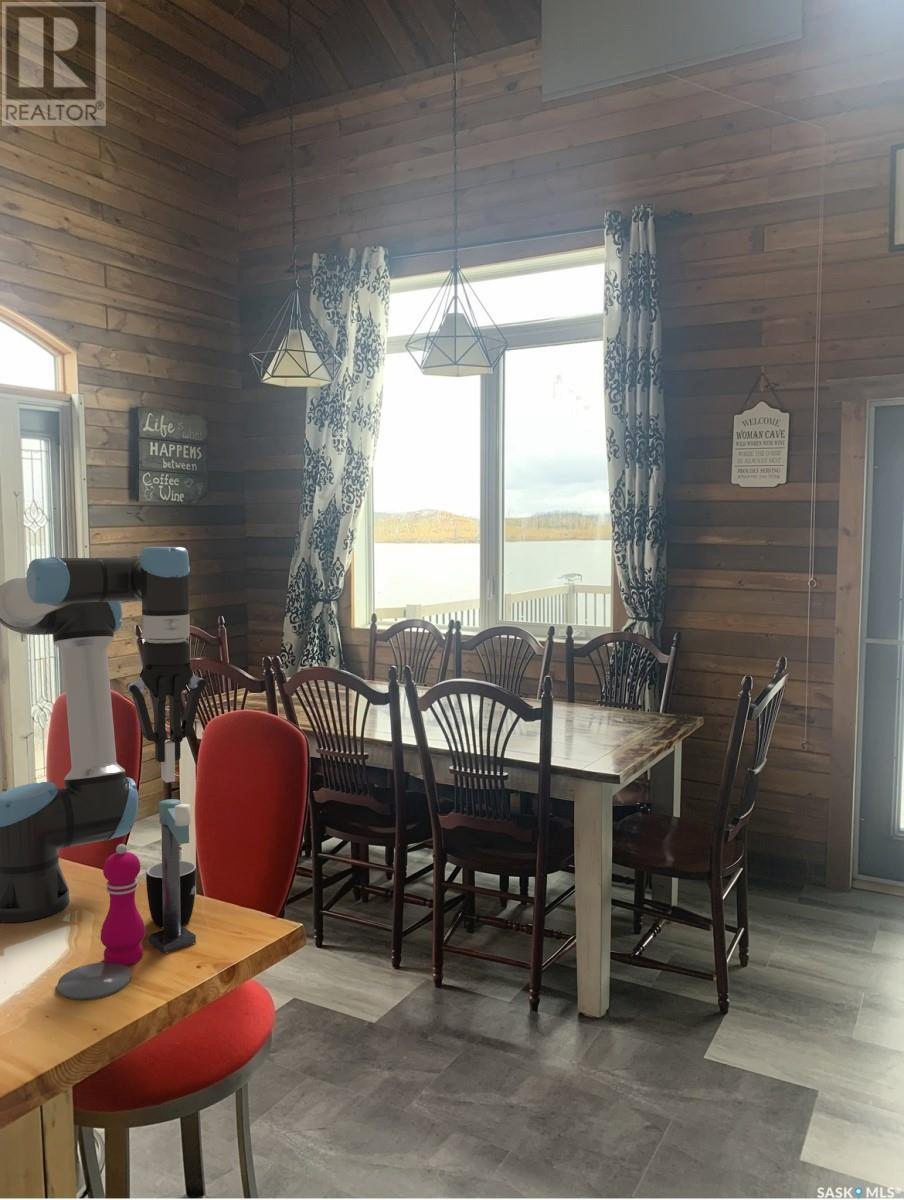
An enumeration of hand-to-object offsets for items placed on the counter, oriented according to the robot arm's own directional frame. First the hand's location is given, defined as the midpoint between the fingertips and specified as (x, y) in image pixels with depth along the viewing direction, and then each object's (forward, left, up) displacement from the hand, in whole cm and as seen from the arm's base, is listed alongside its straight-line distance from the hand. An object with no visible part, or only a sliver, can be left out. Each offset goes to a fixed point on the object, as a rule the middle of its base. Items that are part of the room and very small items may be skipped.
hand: (168, 779), depth 153 cm
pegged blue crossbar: (-2, +2, -10) cm, 10 cm away
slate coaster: (-2, -12, -32) cm, 34 cm away
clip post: (-7, +4, -32) cm, 33 cm away
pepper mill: (-7, -5, -32) cm, 33 cm away
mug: (-17, +9, -32) cm, 37 cm away
